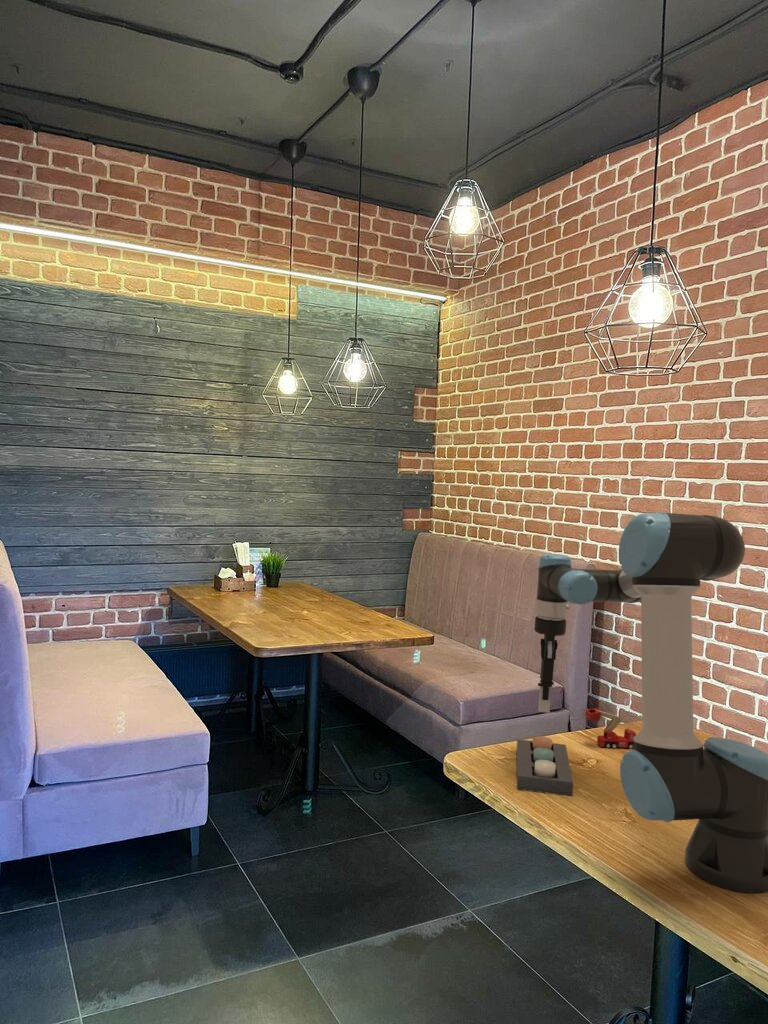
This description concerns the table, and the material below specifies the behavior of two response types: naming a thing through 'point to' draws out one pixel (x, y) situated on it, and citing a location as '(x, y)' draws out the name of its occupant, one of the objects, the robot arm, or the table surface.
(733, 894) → the table surface
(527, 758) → the panel
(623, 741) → the toy fire truck
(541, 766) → the button ivory
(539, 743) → the button terracotta
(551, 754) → the button teal
